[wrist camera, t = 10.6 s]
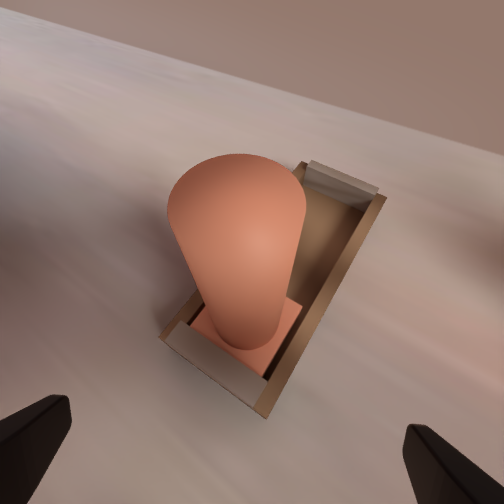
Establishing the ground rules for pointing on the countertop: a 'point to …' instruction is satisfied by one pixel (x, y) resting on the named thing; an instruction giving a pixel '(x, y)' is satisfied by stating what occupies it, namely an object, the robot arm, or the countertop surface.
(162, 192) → the countertop surface
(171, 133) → the countertop surface
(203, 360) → the track
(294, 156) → the countertop surface
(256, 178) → the slider knob
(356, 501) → the countertop surface
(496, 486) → the robot arm
